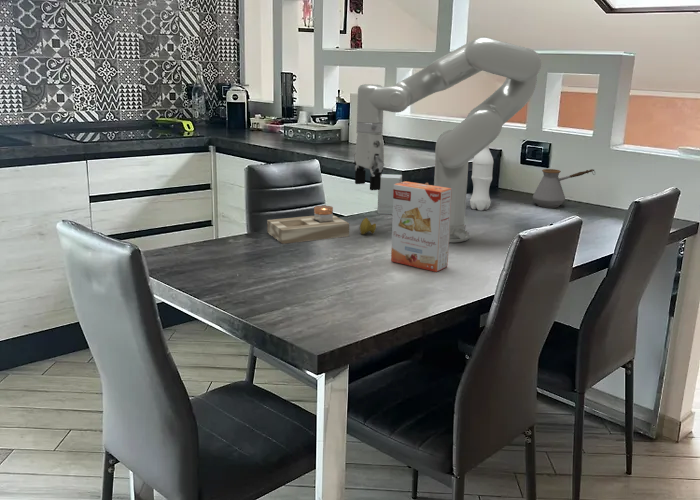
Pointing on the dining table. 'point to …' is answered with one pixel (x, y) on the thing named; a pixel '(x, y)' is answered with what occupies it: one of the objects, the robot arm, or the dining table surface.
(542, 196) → the coffee pot
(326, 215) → the plunger
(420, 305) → the dining table surface
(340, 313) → the dining table surface
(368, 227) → the knob
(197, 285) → the dining table surface
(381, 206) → the supplement box
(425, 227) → the cracker box
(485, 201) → the water bottle
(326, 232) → the mount
